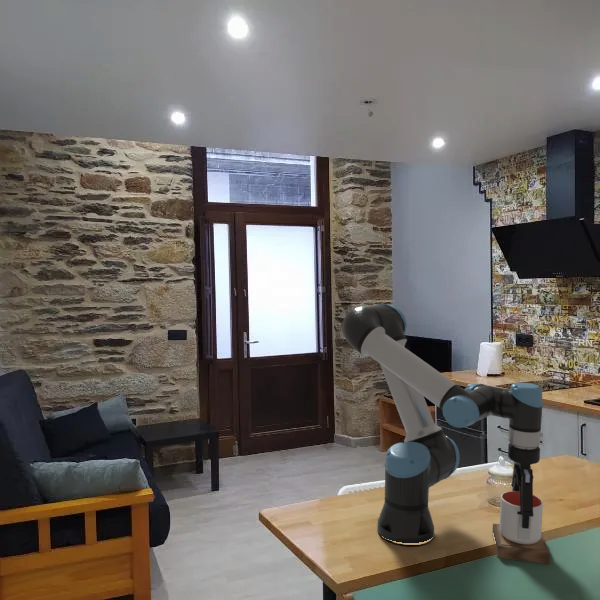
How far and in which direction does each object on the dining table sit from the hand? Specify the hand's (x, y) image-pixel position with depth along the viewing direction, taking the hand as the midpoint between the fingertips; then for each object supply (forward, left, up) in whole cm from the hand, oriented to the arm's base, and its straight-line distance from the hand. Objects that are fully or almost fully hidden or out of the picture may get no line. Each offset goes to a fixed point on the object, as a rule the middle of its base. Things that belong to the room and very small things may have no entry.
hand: (520, 528), depth 143 cm
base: (0, 0, -5) cm, 5 cm away
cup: (0, 0, -3) cm, 3 cm away
